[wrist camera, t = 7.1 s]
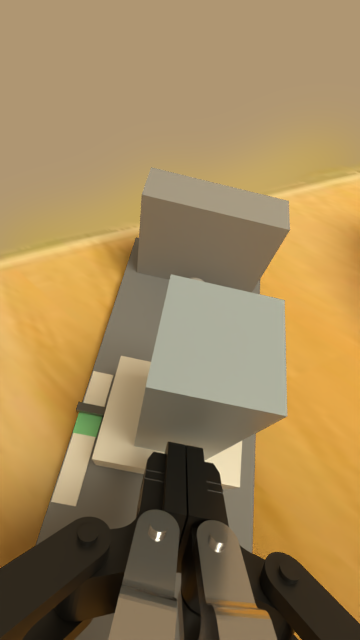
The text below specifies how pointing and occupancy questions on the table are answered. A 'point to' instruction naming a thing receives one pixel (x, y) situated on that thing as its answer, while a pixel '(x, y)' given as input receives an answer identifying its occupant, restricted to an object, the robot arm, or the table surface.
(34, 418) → the table surface
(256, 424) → the gauge slider
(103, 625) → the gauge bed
